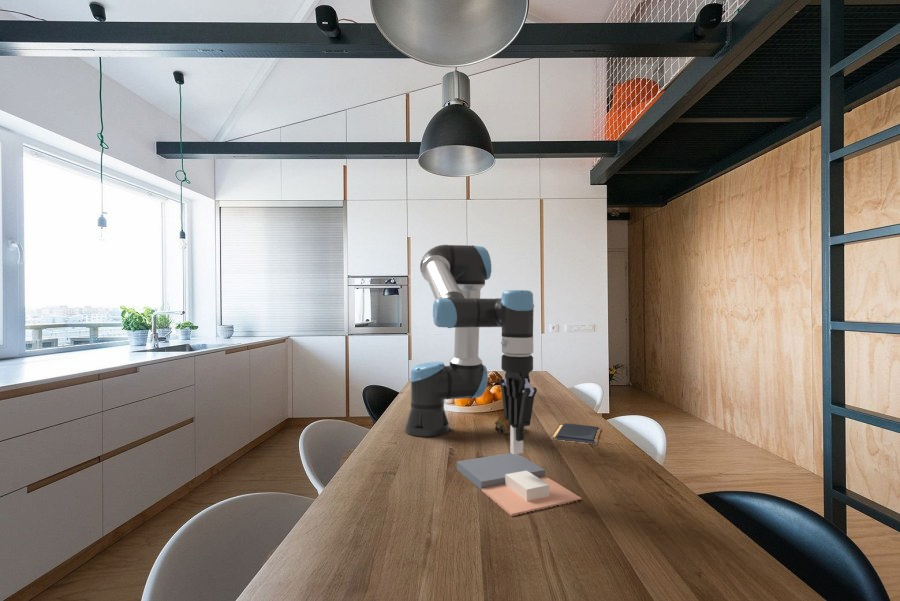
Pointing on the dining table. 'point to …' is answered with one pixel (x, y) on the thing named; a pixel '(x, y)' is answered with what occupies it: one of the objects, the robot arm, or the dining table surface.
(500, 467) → the grey slab
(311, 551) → the dining table surface
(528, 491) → the tile
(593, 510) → the dining table surface
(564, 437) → the dark grey book
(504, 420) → the bread roll
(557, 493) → the mat
